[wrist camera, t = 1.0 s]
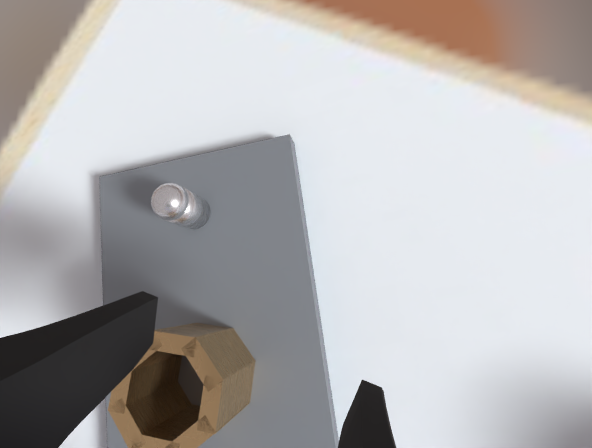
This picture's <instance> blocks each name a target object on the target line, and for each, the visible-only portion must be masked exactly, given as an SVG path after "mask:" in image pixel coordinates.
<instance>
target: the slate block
mask: <svg viewBox="0 0 592 448" xmlns="http://www.w3.org/2000/svg"><path fill="white" fill-rule="evenodd" d="M99 179H100V213H101V248H102V282H103V306H104V305H106V304H109V303H112V302H114V301H117V300H119V299H122V298H125V297H127V296H130V295H133V294H136V293H138V292H141V291H144V292H146V293H149V294H151V295H154V296H156V297H158V304H157V313H156V322H155V330H157V329H163V328H169V327H175V326H181V325H187V324H193V323H202V324H209V325H215V326H222V327H229V328H234V330H235V331H236V333H237V334H238V336H239V337H240V338H241V340H242V341H243V343H244V344H245V346H246V347H247V349H248V350H249V352H250V353H251V355H252V356H253V358H254V359H255V360H256V362H255V369H254V377H253V384H252V392H251V400H250V401H251V402H250V403H249V404H248V405H247V406H246V407H245V408H244V409H243V410H242V411H240V412H239V413H238V414H237V415H236V416H235V417H234V418H233V419H232V420H230V421H229V422H228V423H227V424H226V425H225V426H224V427H223V428H221V429H220V430H219V431H218V432H217V433H216V434H214V435H212V436H211V437H210V438H209V439H207V440H206V441H205V442H204V443H202V444H201V445H200V446H199V447H197V448H338V444H339V440H338V433H337V427H336V420H335V413H334V407H333V400H332V393H331V387H330V380H329V373H328V366H327V360H326V353H325V346H324V340H323V333H322V326H321V319H320V313H319V306H318V299H317V293H316V286H315V279H314V273H313V266H312V259H311V252H310V246H309V239H308V232H307V226H306V219H305V212H304V206H303V199H302V192H301V185H300V179H299V172H298V165H297V159H296V152H295V145H294V142H293V140H292V138H291V136H290V134H289V135H285V136H280V137H276V138H271V139H267V140H262V141H258V142H253V143H249V144H244V145H240V146H235V147H231V148H226V149H222V150H217V151H213V152H208V153H204V154H199V155H195V156H190V157H186V158H181V159H177V160H172V161H168V162H163V163H159V164H154V165H150V166H145V167H141V168H136V169H132V170H127V171H123V172H118V173H114V174H109V175H105V176H100V177H99ZM166 183H174V184H178V185H180V186H182V187H184V188H186V189H187V190H189V191H191V192H193V193H194V194H196V195H198V196H200V197H202V198H203V199H205V200H206V201H207V202H208V204H209V206H210V211H211V212H210V217H209V220H208V221H207V223H206V224H205V225H204V226H203V227H201V228H199V229H189V228H186V227H183V226H180V225H177V224H174V223H172V222H169V221H166V220H163V219H161V218H160V217H158V216H157V215H156V214H155V213H154V211H153V209H152V206H151V197H152V194H153V192H154V191H155V190H156V189H157V188H158V187H159V186H161V185H163V184H166ZM178 382H179V384H180V386H181V387H182V389H183V391H184V392H185V394H186V396H187V397H188V399H189V400H190V402H191V404H193V405H198V406H200V405H201V399H202V392H203V385H204V384H203V383H202V381H201V380H200V378H199V376H198V375H197V373H196V371H195V370H194V368H193V367H192V365H191V363H190V362H189V360H188V359H187V357H186V356H183V355H182V360H181V366H180V372H179V378H178ZM110 396H111V392H110V393H109V394H108V395H107V396H106V418H107V448H128V447H127V445H126V443H125V441H124V439H123V437H122V435H121V434H120V432H119V430H118V428H117V426H116V424H115V422H114V420H113V419H112V417H111V415H110V413H109V411H108V406H109V401H110Z"/></svg>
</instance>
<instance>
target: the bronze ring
mask: <svg viewBox="0 0 592 448" xmlns="http://www.w3.org/2000/svg"><path fill="white" fill-rule="evenodd" d="M182 355H183V356H186V357H187V359H188V360H189V362H190V363H191V365H192V367H193V368H194V370H195V371H196V373H197V375H198V376H199V378H200V380H201V381H202V383H203V384H204V385H203V392H202V399H201V405H200V406H198V405H193V404H191V402H190V400H189V399H188V397H187V396H186V394H185V392H184V391H183V389H182V387H181V386H180V384H179V382H178V378H179V372H180V366H181V360H182ZM255 362H256V360H255V359H254V358H253V356H252V355H251V353H250V352H249V350H248V349H247V347H246V346H245V344H244V343H243V341H242V340H241V338H240V337H239V336H238V334H237V333H236V331H235V330H234V328H229V327H222V326H215V325H209V324H202V323H193V324H187V325H181V326H175V327H169V328H163V329H157V330H155V331H154V340H153V344H152V345H151V347H150V348H149V349H148V351H147V352H146V353H145V355H144V356H143V357H142V359H141V360H140V361H139V362H138V364H137V365H136V366H135V367H134V369H133V370H132V371H131V372H130V373H129V374H128V375H127V376H126V377H125V378H124V379H123V380H122V381H121V382H120V383H119V384H118V385H117V386H116V387H115V388H114V389H113V390H112V391H111V396H110V401H109V406H108V411H109V413H110V415H111V417H112V419H113V420H114V422H115V424H116V426H117V428H118V430H119V432H120V434H121V435H122V437H123V439H124V441H125V443H126V445H127V447H128V448H197V447H199V446H200V445H201V444H202V443H204V442H205V441H206V440H207V439H209V438H210V437H211V436H212V435H214V434H216V433H217V432H218V431H219V430H220V429H221V428H223V427H224V426H225V425H226V424H227V423H228V422H229V421H230V420H232V419H233V418H234V417H235V416H236V415H237V414H238V413H239V412H240V411H242V410H243V409H244V408H245V407H246V406H247V405H248V404H249V403H250V402H251V401H250V400H251V392H252V384H253V377H254V369H255Z"/></svg>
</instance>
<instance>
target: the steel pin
mask: <svg viewBox="0 0 592 448" xmlns="http://www.w3.org/2000/svg"><path fill="white" fill-rule="evenodd" d="M151 206H152V209H153V211H154V213H155V214H156V215H157V216H158V217H160V218H161V219H163V220H166V221H169V222H172V223H174V224H177V225H180V226H183V227H186V228H189V229H199V228H201V227H203V226H204V225H205V224H206V223H207V221H208V220H209V217H210V212H211V211H210V206H209V204H208V202H207V201H206V200H205V199H203V198H202V197H200V196H198V195H196V194H194V193H193V192H191V191H189V190H187V189H186V188H184V187H182V186H180V185H178V184H174V183H166V184H163V185H161V186H159V187H158V188H157V189H156V190H155V191H154V192H153V194H152V197H151Z"/></svg>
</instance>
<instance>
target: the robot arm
mask: <svg viewBox="0 0 592 448" xmlns="http://www.w3.org/2000/svg"><path fill="white" fill-rule="evenodd" d="M157 304H158V297H156V296H154V295H151V294H149V293H146V292H144V291H141V292H138V293H136V294H133V295H130V296H127V297H125V298H122V299H119V300H117V301H114V302H112V303H109V304H106V305H104V306H101V307H98V308H96V309H93V310H90V311H87V312H85V313H82V314H79V315H76V316H73V317H70V318H67V319H64V320H61V321H58V322H55V323H52V324H49V325H46V326H43V327H40V328H36V329H33V330H29V331H26V332H22V333H18V334H14V335H10V336H6V337H2V338H0V448H58V447H59V446H60V445H61V444H62V443H63V441H64V440H65V439H66V438H67V437H68V435H69V434H70V433H71V432H72V431H73V430H74V429H75V428H76V427H77V426H78V425H79V424H80V422H81V421H82V420H83V419H84V418H85V417H86V416H87V415H88V414H89V413H90V412H91V411H92V410H93V409H94V408H95V407H96V406H97V405H98V404H99V403H100V402H101V401H102V400H103V399H104V398H105V397H106V396H107V395H108V394H109V393H110V392H111V391H112V390H113V389H114V388H115V387H116V386H117V385H118V384H119V383H120V382H121V381H122V380H123V379H124V378H125V377H126V376H127V375H128V374H129V373H130V372H131V371H132V370H133V369H134V367H135V366H136V365H137V364H138V362H139V361H140V360H141V359H142V357H143V356H144V355H145V353H146V352H147V351H148V349H149V348H150V347H151V345H152V344H153V340H154V331H155V322H156V313H157ZM338 448H396V445H395V442H394V438H393V434H392V430H391V426H390V422H389V418H388V413H387V408H386V403H385V398H384V392H383V390H382V388H381V387H379V386H377V385H374V384H372V383H369V382H367V381H364V380H362V381H361V384H360V386H359V388H358V391H357V393H356V395H355V398H354V400H353V402H352V405H351V407H350V410H349V412H348V414H347V417H346V419H345V421H344V424H343V427H342V431H341V435H340V440H339V444H338Z"/></svg>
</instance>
